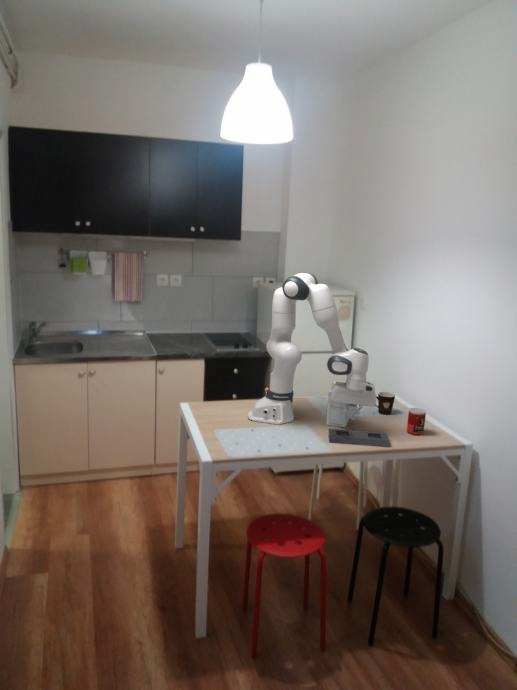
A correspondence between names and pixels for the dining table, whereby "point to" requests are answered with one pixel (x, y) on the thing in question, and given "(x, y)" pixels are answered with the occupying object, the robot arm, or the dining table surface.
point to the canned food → (416, 421)
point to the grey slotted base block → (358, 437)
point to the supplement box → (336, 413)
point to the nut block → (351, 411)
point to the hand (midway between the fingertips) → (351, 413)
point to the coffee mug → (385, 402)
